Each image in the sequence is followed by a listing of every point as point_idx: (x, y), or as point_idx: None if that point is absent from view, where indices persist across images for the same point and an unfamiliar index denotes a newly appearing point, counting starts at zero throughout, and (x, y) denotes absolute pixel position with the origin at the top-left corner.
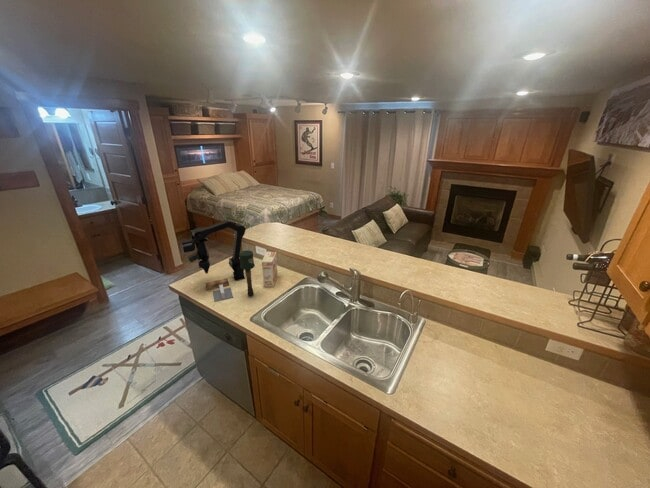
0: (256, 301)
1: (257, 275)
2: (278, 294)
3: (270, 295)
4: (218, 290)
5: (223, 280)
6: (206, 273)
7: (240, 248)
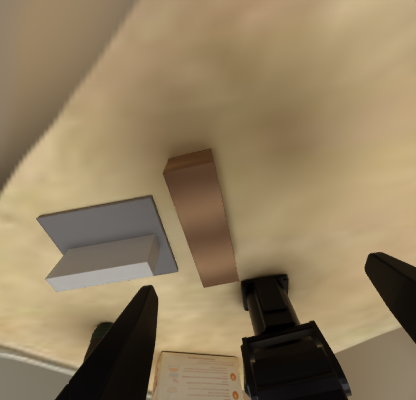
0: (68, 340)
1: (253, 335)
2: None
3: None
4: (154, 226)
5: (215, 267)
6: (143, 294)
7: None
